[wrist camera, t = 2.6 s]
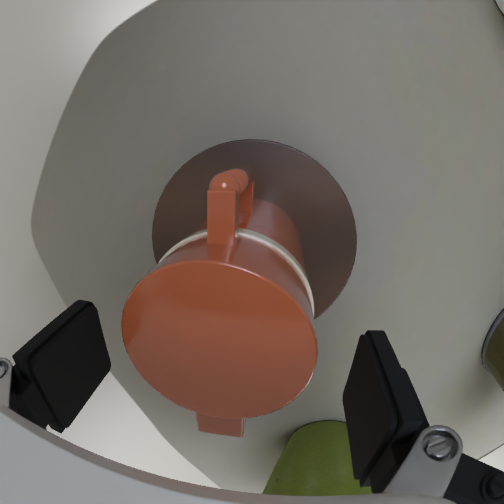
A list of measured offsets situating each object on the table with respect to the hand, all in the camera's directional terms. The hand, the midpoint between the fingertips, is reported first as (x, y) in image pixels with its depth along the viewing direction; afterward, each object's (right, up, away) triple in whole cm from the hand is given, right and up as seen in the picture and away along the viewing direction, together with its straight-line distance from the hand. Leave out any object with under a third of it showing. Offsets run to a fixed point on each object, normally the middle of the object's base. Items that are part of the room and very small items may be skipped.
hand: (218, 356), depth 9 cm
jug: (+1, +4, +10) cm, 11 cm away
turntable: (+1, +4, +11) cm, 12 cm away
